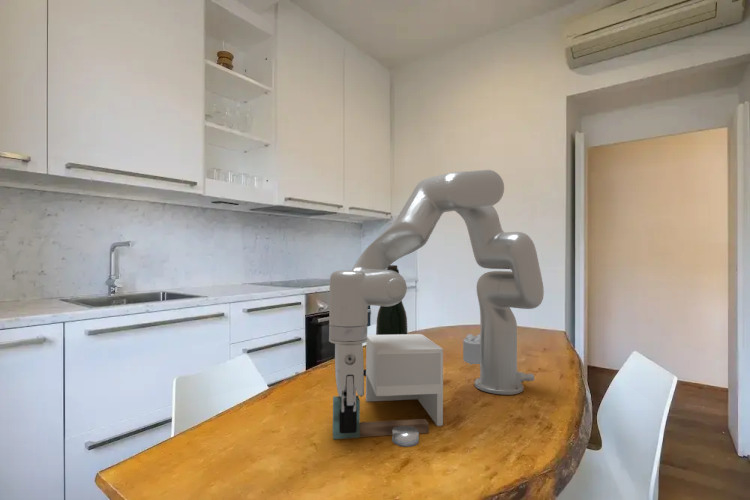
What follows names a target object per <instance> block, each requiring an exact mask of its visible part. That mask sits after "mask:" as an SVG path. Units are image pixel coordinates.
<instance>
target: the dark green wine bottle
mask: <svg viewBox="0 0 750 500" xmlns="http://www.w3.org/2000/svg"><path fill="white" fill-rule="evenodd" d="M386 270H392V271H395V272H397V273H399V274H400V271H399V269H398V265H394V264H391V265H390V266H389V267H388V268H387V269H386ZM407 316H408V315H407V312H406V309H405V306H404V303H403V300H402V301H400V302H399V303H398V304H396V305H393V306H388V307H385V306H379V308H378V311H377V317H376V323H375V325H376V326H375V327H376V328H375V335H397V334H408V317H407Z"/></svg>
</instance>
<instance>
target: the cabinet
mask: <svg viewBox="0 0 750 500" xmlns="http://www.w3.org/2000/svg"><path fill="white" fill-rule="evenodd" d="M365 343H366V344H365V346H366V348H365V354H366V355H365V357H366V358H365V369H366V374H365V401H366V402H367V403H368V402H387V401H390V402H391V401H411V400H412V401H415V400H417V401H418V402H419V403H420V404H421V406H422V408H424V410H425V411H426V413H427V414H428V415H429V416H430V418H431V419H432V421H433V422H434V424H435V425H436V426H437V427H441V426H444V348H443V347H441V346H440V345H438V344H436V343H435V342H434V341H432V340H431V339H429V338H428V337H427V336H425V335H424V334H422V333H414V334H413V333H411V334H410V333H407V334H397V335H376V334H367V342H365Z"/></svg>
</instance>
